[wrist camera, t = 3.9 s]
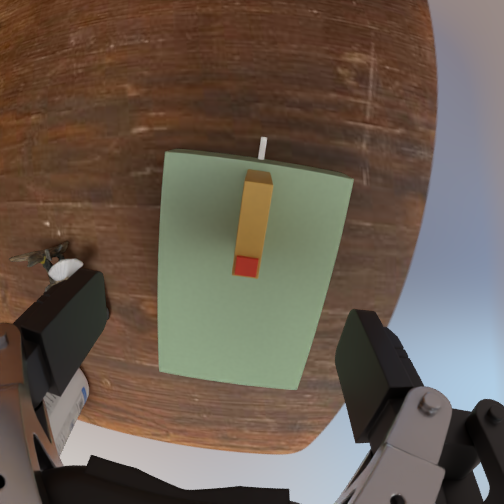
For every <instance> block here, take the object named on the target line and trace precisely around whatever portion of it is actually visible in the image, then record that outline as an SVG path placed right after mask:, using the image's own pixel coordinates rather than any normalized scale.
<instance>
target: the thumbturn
mask: <svg viewBox="0 0 504 504" xmlns="http://www.w3.org/2000/svg"><path fill="white" fill-rule="evenodd" d="M272 192H273V182H272V178H271V174H270V172H264V171H258V170H251V169H248V170H247V174H246V177H245V181H244V187H243V194H242V201H241V208H240V215H239V223H238V230H237V237H236V245H235V252H234V260H233V268H232V275H233V276H240V277H247V278H254V279H258V276H259V270H260V265H261V259H262V253H263V247H264V241H265V235H266V229H267V223H268V217H269V211H270V204H271V198H272Z"/></svg>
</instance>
